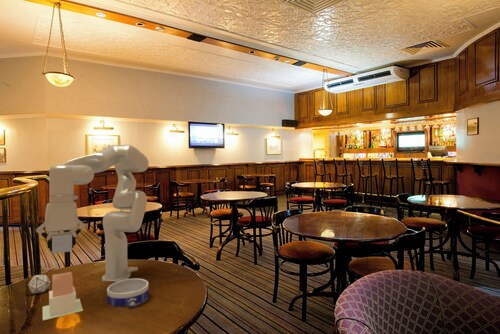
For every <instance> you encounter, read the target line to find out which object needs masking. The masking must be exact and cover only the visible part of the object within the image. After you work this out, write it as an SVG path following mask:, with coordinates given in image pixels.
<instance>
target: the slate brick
mask: <svg viewBox="0 0 500 334" xmlns="http://www.w3.org/2000/svg"><path fill="white" fill-rule="evenodd" d="M67 252H73V248H72V233H71V231H62V232H53V234H52V251H51V254H60V253H67Z"/></svg>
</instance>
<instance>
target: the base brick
mask: <svg viewBox="0 0 500 334" xmlns="http://www.w3.org/2000/svg"><path fill="white" fill-rule="evenodd" d="M76 299H77V293H76V288H75V286H73V293H71V294H66V295H61V296H57V297H53V292H52V290H49V291H48V305H49V314H50V316H53V315H57V314H61V313H65V312H70V311H74V310H76Z"/></svg>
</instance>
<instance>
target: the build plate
mask: <svg viewBox="0 0 500 334" xmlns="http://www.w3.org/2000/svg"><path fill="white" fill-rule="evenodd" d="M83 311H84V309H83V307H82V302H81V300H80V298H76V310H74V311H70V312H65V313H61V314H57V315H53V316H50V314H49V304H48V305H44V306H42V321H46V320H51V319H54V318H59V317H63V316H67V315H71V314H75V313H79V312H83Z"/></svg>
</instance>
